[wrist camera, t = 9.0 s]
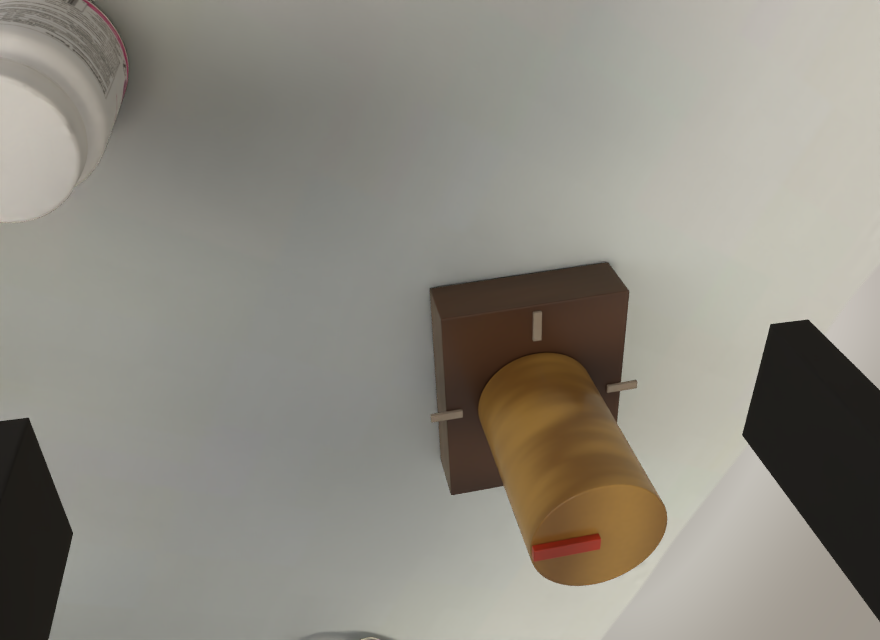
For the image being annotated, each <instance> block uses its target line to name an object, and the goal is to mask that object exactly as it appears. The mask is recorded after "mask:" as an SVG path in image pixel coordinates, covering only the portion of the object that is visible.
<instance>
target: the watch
mask: <svg viewBox="0 0 880 640" xmlns="http://www.w3.org/2000/svg"><path fill="white" fill-rule="evenodd" d="M360 640H379V639H377V638H373V637H367V638H364V639H360Z"/></svg>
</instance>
